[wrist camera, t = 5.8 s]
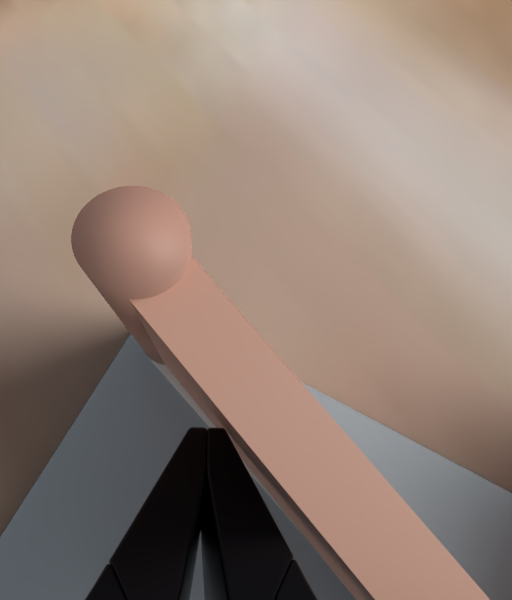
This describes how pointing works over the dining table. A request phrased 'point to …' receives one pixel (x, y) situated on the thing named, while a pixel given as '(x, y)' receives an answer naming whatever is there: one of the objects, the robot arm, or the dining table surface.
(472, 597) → the fence panel
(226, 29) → the dining table surface
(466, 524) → the board
